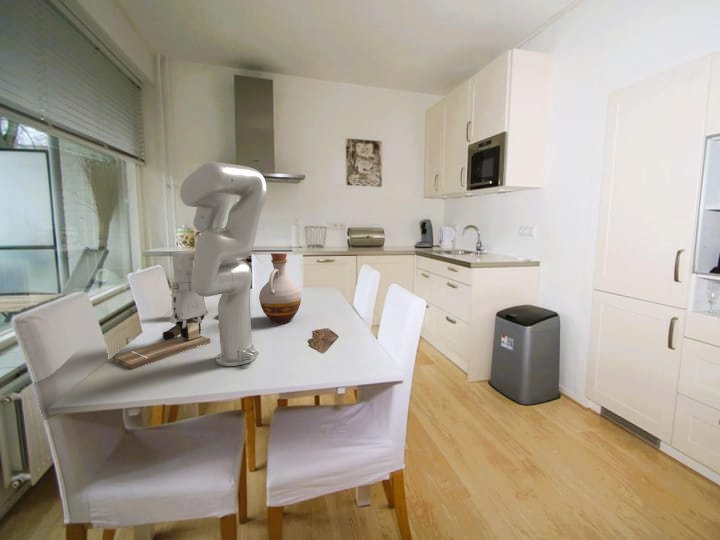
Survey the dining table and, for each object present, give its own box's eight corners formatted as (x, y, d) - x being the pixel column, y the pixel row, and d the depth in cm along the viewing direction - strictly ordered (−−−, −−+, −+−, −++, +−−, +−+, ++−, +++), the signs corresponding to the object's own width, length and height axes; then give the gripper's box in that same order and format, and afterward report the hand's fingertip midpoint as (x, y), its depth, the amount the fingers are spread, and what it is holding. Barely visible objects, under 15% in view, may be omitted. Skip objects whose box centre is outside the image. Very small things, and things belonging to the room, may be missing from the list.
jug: (292, 329, 138) (289, 255, 133) (251, 327, 140) (247, 255, 136) (307, 315, 157) (305, 250, 152) (270, 314, 160) (267, 250, 155)
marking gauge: (202, 337, 123) (201, 318, 122) (192, 341, 120) (190, 320, 119) (190, 333, 127) (188, 314, 126) (179, 337, 124) (177, 317, 123)
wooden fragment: (313, 329, 139) (313, 326, 139) (340, 329, 139) (340, 326, 139) (302, 354, 114) (302, 351, 113) (335, 354, 113) (335, 351, 113)
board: (210, 342, 124) (210, 338, 123) (132, 369, 102) (131, 364, 102) (191, 336, 130) (190, 332, 130) (113, 360, 108) (112, 355, 108)
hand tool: (173, 341, 126) (172, 329, 125) (162, 341, 126) (161, 329, 125) (196, 325, 144) (196, 314, 144) (187, 325, 144) (186, 314, 144)
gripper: (169, 291, 112) (174, 345, 114) (214, 283, 126) (218, 331, 128) (157, 289, 116) (162, 340, 118) (202, 281, 130) (206, 327, 132)
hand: (191, 335), depth 123 cm, fingers closed on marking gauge, 4 cm apart
